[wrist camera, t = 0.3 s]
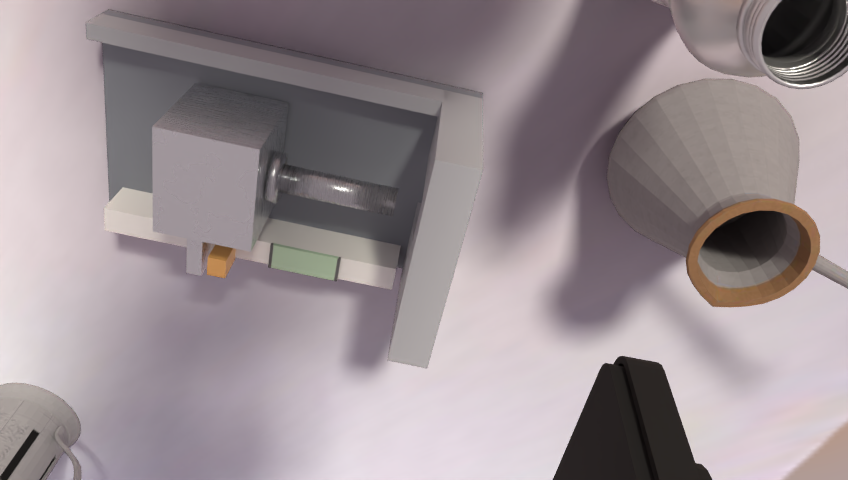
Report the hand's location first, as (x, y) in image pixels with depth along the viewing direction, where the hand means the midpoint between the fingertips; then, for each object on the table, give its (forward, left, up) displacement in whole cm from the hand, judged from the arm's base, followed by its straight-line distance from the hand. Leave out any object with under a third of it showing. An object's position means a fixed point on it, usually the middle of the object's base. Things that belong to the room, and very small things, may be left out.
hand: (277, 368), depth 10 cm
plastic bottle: (-3, +13, -36) cm, 39 cm away
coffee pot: (+10, +24, -36) cm, 45 cm away
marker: (+21, -9, -31) cm, 39 cm away
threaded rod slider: (+17, -6, -35) cm, 39 cm away
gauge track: (+15, -7, -36) cm, 40 cm away
